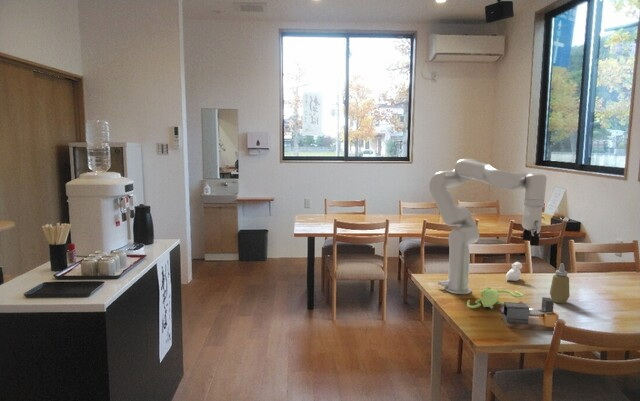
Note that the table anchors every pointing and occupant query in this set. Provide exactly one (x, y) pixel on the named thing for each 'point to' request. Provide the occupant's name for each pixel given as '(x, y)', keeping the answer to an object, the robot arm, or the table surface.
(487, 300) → the figurine
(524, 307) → the grey sleeve
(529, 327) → the walnut board
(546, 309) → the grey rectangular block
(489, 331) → the table surface
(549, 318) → the orange socket
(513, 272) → the bust
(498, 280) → the table surface
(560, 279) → the squeeze bottle
